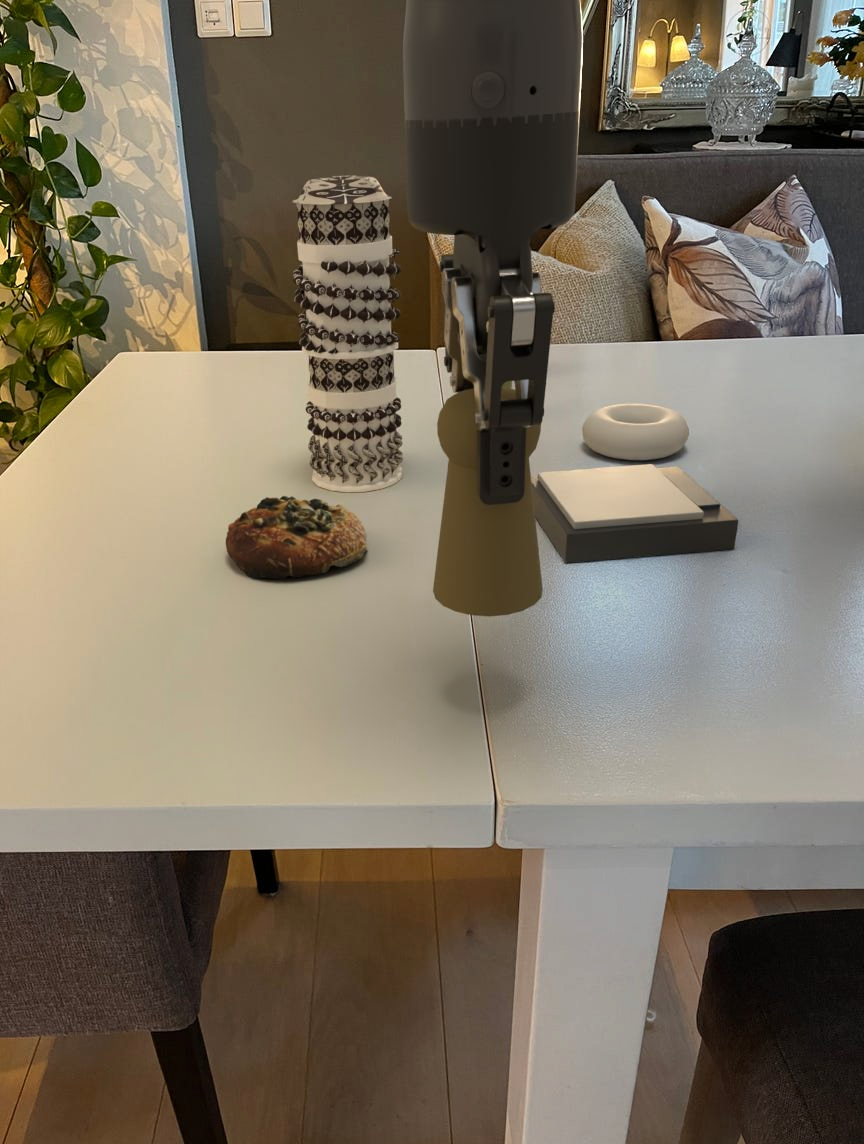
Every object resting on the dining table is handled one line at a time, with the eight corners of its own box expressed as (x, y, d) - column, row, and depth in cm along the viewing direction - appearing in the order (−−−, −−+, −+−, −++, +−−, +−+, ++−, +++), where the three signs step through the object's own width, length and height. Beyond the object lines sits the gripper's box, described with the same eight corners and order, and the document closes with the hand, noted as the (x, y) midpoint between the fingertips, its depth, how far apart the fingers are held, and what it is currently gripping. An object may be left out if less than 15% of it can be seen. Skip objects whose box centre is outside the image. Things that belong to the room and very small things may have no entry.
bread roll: (207, 578, 70) (203, 511, 68) (248, 537, 80) (246, 478, 78) (356, 588, 68) (357, 520, 67) (379, 545, 79) (380, 485, 77)
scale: (674, 492, 82) (678, 459, 80) (734, 549, 71) (740, 512, 70) (526, 504, 81) (527, 470, 79) (565, 563, 70) (567, 526, 69)
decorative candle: (426, 468, 89) (421, 173, 77) (369, 500, 83) (354, 183, 70) (347, 453, 94) (331, 172, 82) (288, 483, 87) (260, 182, 75)
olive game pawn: (527, 623, 49) (534, 414, 44) (417, 607, 51) (410, 405, 46) (553, 573, 54) (563, 379, 48) (452, 561, 56) (450, 373, 51)
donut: (587, 431, 98) (574, 461, 89) (589, 397, 96) (576, 425, 88) (688, 437, 95) (685, 468, 87) (692, 402, 93) (689, 431, 85)
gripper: (632, 102, 35) (601, 528, 44) (535, 101, 47) (526, 433, 56) (430, 114, 34) (439, 543, 43) (385, 110, 47) (399, 443, 55)
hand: (488, 479), depth 49 cm, fingers closed on olive game pawn, 5 cm apart
